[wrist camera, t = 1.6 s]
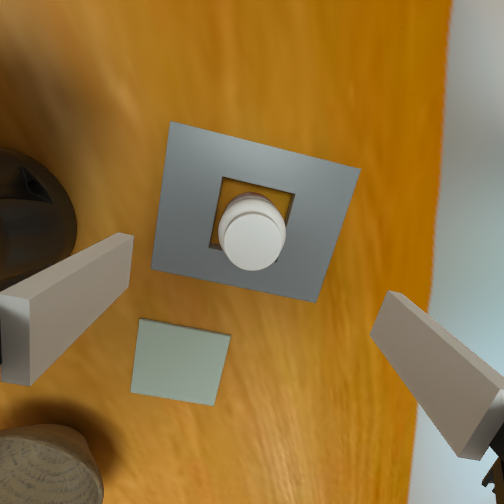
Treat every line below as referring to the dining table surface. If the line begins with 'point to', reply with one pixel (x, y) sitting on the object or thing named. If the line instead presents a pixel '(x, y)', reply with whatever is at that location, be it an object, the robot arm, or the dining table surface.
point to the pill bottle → (251, 231)
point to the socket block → (256, 172)
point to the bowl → (47, 467)
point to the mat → (178, 362)
